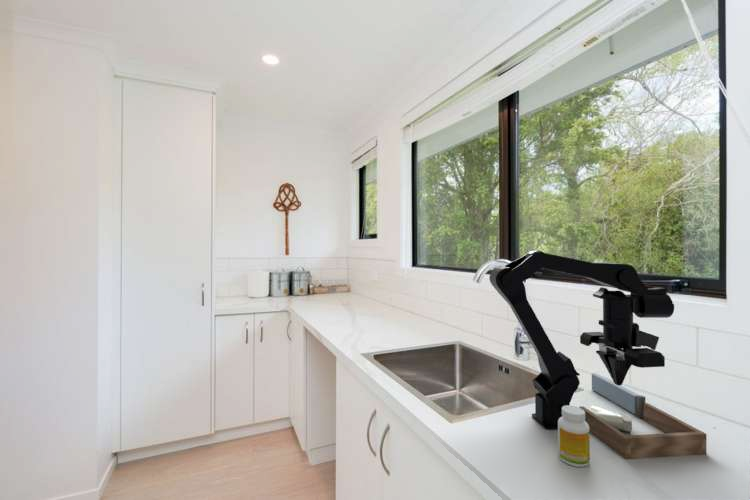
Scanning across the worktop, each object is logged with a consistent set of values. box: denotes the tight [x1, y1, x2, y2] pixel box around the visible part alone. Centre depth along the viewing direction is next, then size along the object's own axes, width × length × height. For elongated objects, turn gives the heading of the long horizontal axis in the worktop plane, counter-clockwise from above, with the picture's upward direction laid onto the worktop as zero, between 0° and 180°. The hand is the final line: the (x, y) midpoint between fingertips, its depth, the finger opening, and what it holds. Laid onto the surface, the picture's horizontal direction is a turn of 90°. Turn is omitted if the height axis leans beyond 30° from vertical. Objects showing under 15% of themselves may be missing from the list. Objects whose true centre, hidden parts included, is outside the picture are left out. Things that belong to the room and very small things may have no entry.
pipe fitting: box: [587, 405, 633, 433], centre depth 81 cm, size 8×4×7 cm
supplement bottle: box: [557, 404, 591, 468], centre depth 68 cm, size 5×5×10 cm
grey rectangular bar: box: [591, 372, 639, 415], centre depth 93 cm, size 15×2×4 cm, turn 5°
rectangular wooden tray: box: [578, 394, 707, 460], centre depth 77 cm, size 17×16×5 cm
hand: (618, 384), depth 81 cm, fingers closed
